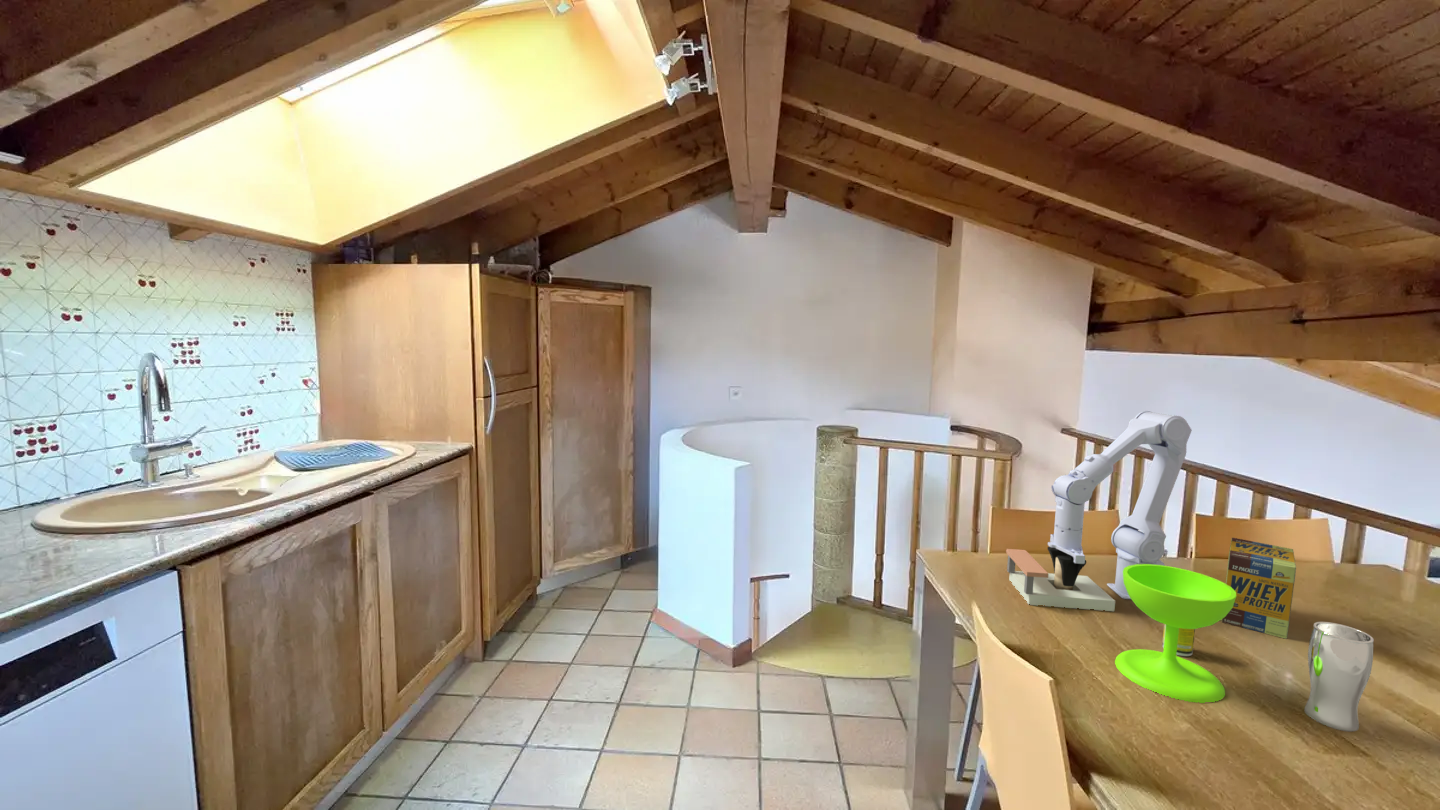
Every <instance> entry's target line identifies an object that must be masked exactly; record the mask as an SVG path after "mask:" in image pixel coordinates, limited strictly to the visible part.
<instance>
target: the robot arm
mask: <svg viewBox="0 0 1440 810" xmlns="http://www.w3.org/2000/svg"><path fill="white" fill-rule="evenodd" d="M1191 433H1192V428H1191V427H1190V425H1189V423H1188V422H1187V420H1186V419H1185V418H1184V417H1183V416H1181V415H1175V414H1174V415H1172V414H1164V413H1158V412H1152V411H1148V410H1145V411H1140V412H1138V413H1137V414H1136V415H1135V417H1133V418H1131V419H1130V420H1129V422H1128V426H1127V427H1126V429H1125V430H1124V431H1122V432H1121V434H1119V435H1118V437H1116V438H1115V439H1114V441H1112V443H1110V444H1109V445H1108V446H1107V447H1106V448H1105V449H1104V450H1103V451H1102V452H1101V453H1092V454H1090V455H1089V454H1088V455H1086V456H1085V457H1084V458H1083V459H1084V460H1083V461H1082V462H1081V463H1080V464H1079V465H1077V466H1076V467H1074V469H1071V470H1069V473H1068V474H1063V475H1062V474H1061V475H1059V476H1058V477H1057V478H1056V479H1055V480H1054V481H1053V484H1052V485H1051V487H1050V488H1051V491H1052V494H1053V495H1054V497H1055V498H1054V502H1055V514H1054V516H1055V517H1054V529H1053V534H1051V533H1050V539H1049V541H1048V542H1047V551H1048V553H1049V555H1050V558H1051V562H1052V566H1053V574H1055V562H1056V557H1057V558H1058V560H1059V562H1060V565H1061V571H1062V582H1063V585H1064V586H1074V584H1075V581H1076V579H1077V576H1078V575H1080V572H1081V570H1082V569H1083V568H1084V567H1085V565H1087V560H1086V555H1085V554H1084V551H1083V546H1082V541H1083V530H1084V529H1083V527H1084V516H1085V504H1086V503H1087V502H1088V501H1090V500H1091V498H1092V496H1093V492H1094V490H1095V489H1096V487H1097V486H1098V485H1099V484H1100V483H1102V482H1103V481H1104V480H1105V479H1106V478H1108V477H1109V476H1111V474H1112V473H1114V465H1115V464H1116V463H1117V462H1119V461H1120V460H1122V459H1123V458H1125V457H1126V456H1128V455H1129V454H1130V453H1132V452H1133V451H1135V450H1136V449H1138V447H1140V446H1141V445H1149V447H1150V448H1151V450H1152V451H1153V454H1154V455H1153V459H1152V461H1151V464H1150V466H1149V469H1148V472H1147V474H1146V477H1145V480H1144V482H1143V485H1142V488H1141V490H1140V493H1139V495H1138V498H1137V500H1136V503H1135V505H1134V509H1133V512H1132V513H1131V515H1129V516H1126V517H1124V518H1122V519H1121V520H1120V522H1119V525H1118V526H1117V527H1116V528H1115V529H1114V530H1113V532H1112V533H1111V536H1110V537H1111V539H1110V541H1111V544H1112V546H1113V547H1114V548H1115V554H1116V553H1117V556H1116V557H1117V558H1116V559H1117V560H1116V570H1115V578H1114V579H1115V580H1114V581H1115V582H1114V583H1110V582H1108V583H1106V586H1108V587H1109V588H1110V590H1112V591H1113V592H1114V593H1115V594H1117V595H1118V596H1119V597H1120V598H1122V599H1123V600H1132V599H1131V598H1130V596H1129V594H1128V592H1127V590H1126V587H1125V585H1124V581H1123V570H1124V568H1125V567H1127V566H1130V565H1136V564H1153V565H1163V566H1166V564H1165V563H1164V561H1162V560H1161V559H1162V557H1163V556H1164V553H1165V541H1166V537H1167V535H1166V533H1165V532H1164V530H1163V529H1162V527H1161V525H1160V522H1161V520H1162V518H1163V514H1164V513H1165V509H1166V507H1167V505H1168V502H1169V500H1170V497H1171V495H1172V492H1173V489H1174V486H1175V484H1176V483H1177V482H1176V481H1177V479H1178V477H1179V474H1180V471H1181V469H1182V466H1183V463H1184V461H1185V459H1186V456H1187V444H1188V441H1189V439H1190V436H1191Z"/></svg>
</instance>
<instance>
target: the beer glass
mask: <svg viewBox="0 0 1440 810" xmlns="http://www.w3.org/2000/svg"><path fill="white" fill-rule="evenodd" d="M1312 627H1313V628H1312V630H1311V631H1312V632H1311V634H1310V638H1309V643H1308V651H1307V661H1308V662H1307V663H1308V672H1309V679H1310V680H1309V681H1310V683H1309V684H1310V692H1309V697H1308V699H1307V701H1306V704H1305V706H1304V713H1305V714H1306V715H1307V716H1308V717H1309V718H1310V717H1311V718H1310V719H1312V720H1313V719H1314V720H1313V721H1315V720H1316V721H1315V722H1317V723H1319V724H1321V725H1324V726H1325V725H1326V726H1327V727H1328V728H1331V729H1334V730H1338V731H1343V732H1356V731H1359V728H1360V724H1359V715H1358V712H1359V711H1358V708H1359V704H1360V703H1359V702H1360V701H1361V698H1362V695H1363V693H1364V691H1365V689H1366V687H1367V684H1368V683H1369V679H1370V676H1371V674H1372V668H1373V660H1374V637H1372V636H1371V634H1369V633H1366V632H1365V631H1362V630H1360V629H1358V628H1354V627H1351V626H1348V625H1345V624H1340V623H1336V622H1329V621H1316V622H1314V623H1313V626H1312Z"/></svg>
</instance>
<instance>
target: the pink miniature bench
mask: <svg viewBox="0 0 1440 810" xmlns="http://www.w3.org/2000/svg"><path fill="white" fill-rule="evenodd" d="M1005 553H1006V555H1007V565H1006V567H1007V568H1006V571H1007V573H1008V574H1010V573H1015V571H1016V566H1017V567H1018V568H1019V569H1020V571H1022V572H1024V574H1025V584H1024V592H1025V593H1026V594H1032V595H1033V582H1034V577H1045V578H1048V573H1049V572H1047V570H1046V569H1044V567H1043V566H1042V565H1041V564H1040V563H1039V562H1038V561H1037V560H1036V559H1035V558H1034V557H1033V556H1032V555H1031V554H1030V553H1029V552H1028V551H1027V550H1026V549H1015V548H1013V549H1012V548H1006V550H1005Z"/></svg>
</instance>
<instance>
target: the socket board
mask: <svg viewBox="0 0 1440 810" xmlns="http://www.w3.org/2000/svg"><path fill="white" fill-rule="evenodd" d="M1047 573H1048V578H1045V577H1034V582H1033V595H1032V594H1026V593H1025V592H1024V584H1025V574H1024V572H1023V571H1022V570H1020V571H1019V570H1018V571H1017V570H1015V573H1009V575H1008V576H1009V577H1008V578H1009V579H1008V580H1009V582H1010V581H1011V582H1012V583H1011V582H1010V583H1011V584H1012V586H1013V587H1014V586H1015V587H1014V588H1015V589H1016V591H1017V590H1018V591H1019V592H1020V593H1019V592H1018V591H1017V592H1018V593H1019V595H1020V596H1021V595H1022V596H1023V597H1024V598H1023V597H1022V596H1021V597H1022V598H1023V599H1024V600H1026V601H1027V602H1026V601H1025V602H1026V603H1027V605H1029V604H1030V605H1029V606H1038V605H1043V607H1051V606H1054V608H1064V607H1065V608H1067V609H1077V608H1079V610H1090V609H1094V610H1093V611H1103V610H1105V611H1104V612H1115V607H1116V600H1115V599H1113V597H1112V596H1111V595H1109V594H1108V593H1107V592H1106V591H1105V590H1104V589H1103V588H1101V586H1099V584H1097V583H1096V582H1095V581H1093V579H1091V578H1090V577H1089V576H1088V575H1080V574H1078V576H1077V579H1076V581H1075V584H1074V586H1073V590H1061V589H1056V588H1055V587H1054V576H1055V573H1049V572H1047ZM1044 605H1045V606H1044Z"/></svg>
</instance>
